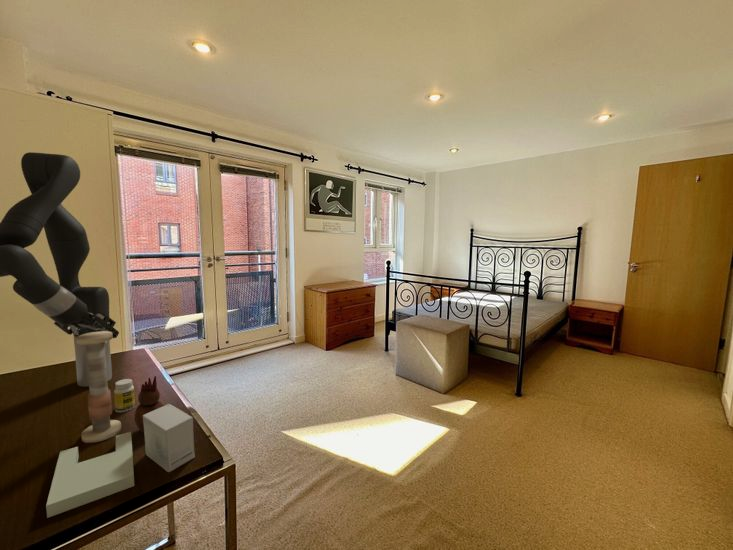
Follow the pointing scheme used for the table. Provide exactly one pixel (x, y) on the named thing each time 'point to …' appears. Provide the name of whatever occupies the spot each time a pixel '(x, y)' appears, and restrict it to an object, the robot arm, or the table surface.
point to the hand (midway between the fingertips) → (103, 337)
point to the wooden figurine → (147, 402)
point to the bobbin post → (98, 389)
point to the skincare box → (169, 437)
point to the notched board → (90, 476)
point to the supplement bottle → (124, 395)
